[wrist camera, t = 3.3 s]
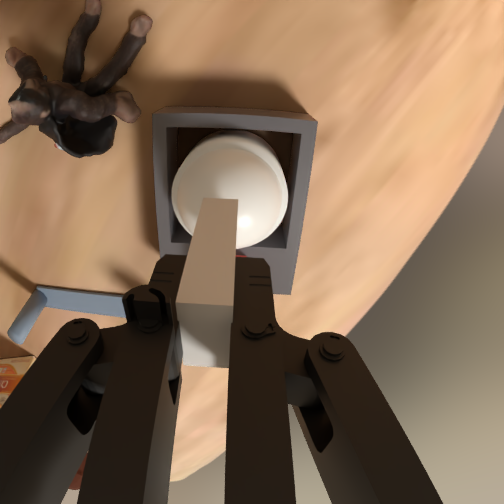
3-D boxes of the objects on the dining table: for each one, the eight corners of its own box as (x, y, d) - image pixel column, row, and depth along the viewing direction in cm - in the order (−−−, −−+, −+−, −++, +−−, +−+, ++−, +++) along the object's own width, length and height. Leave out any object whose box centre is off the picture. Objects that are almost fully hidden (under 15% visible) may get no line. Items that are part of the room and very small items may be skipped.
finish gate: (31, 284, 26) (3, 325, 21) (179, 299, 27) (167, 354, 22) (38, 303, 27) (13, 344, 22) (181, 320, 28) (171, 373, 23)
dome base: (165, 106, 18) (138, 121, 14) (308, 113, 19) (327, 130, 14) (171, 263, 25) (156, 310, 20) (286, 269, 25) (294, 318, 21)
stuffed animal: (195, 49, 16) (52, 211, 14) (166, 101, 25) (74, 212, 23) (71, -36, 11) (-67, 99, 9) (75, 31, 20) (-17, 133, 18)
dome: (183, 127, 18) (157, 154, 13) (286, 132, 19) (302, 161, 14) (184, 218, 22) (165, 271, 17) (276, 223, 22) (285, 278, 17)
